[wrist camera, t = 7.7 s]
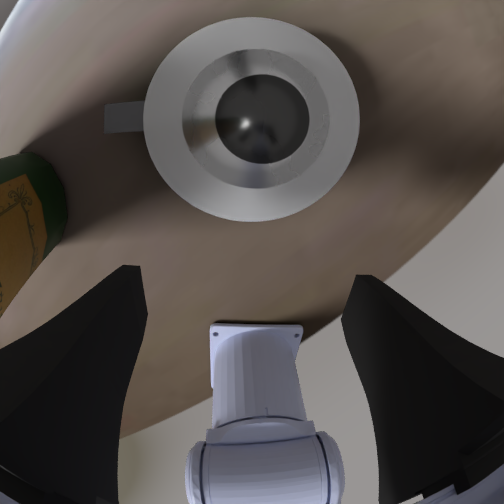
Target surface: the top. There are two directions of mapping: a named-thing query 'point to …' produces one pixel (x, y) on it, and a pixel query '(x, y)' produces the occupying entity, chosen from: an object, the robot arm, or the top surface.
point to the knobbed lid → (255, 118)
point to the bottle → (27, 219)
